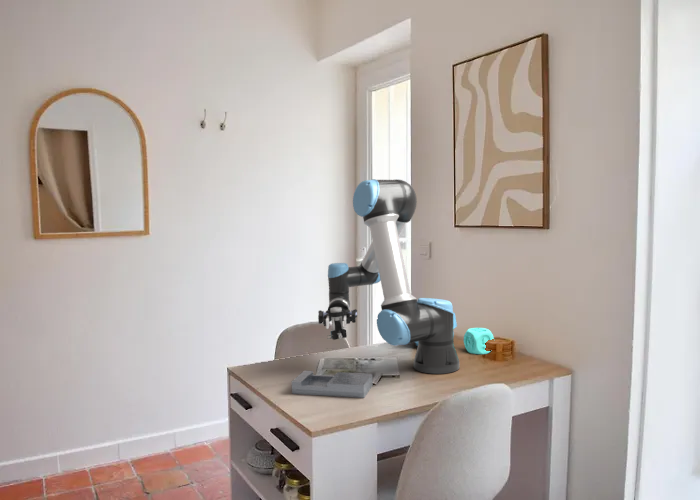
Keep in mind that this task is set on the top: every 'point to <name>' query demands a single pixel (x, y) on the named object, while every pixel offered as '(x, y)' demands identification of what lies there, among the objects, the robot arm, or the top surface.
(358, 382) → the grey recessed block
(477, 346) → the decorative dice
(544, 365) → the top surface
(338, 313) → the push button
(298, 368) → the top surface
